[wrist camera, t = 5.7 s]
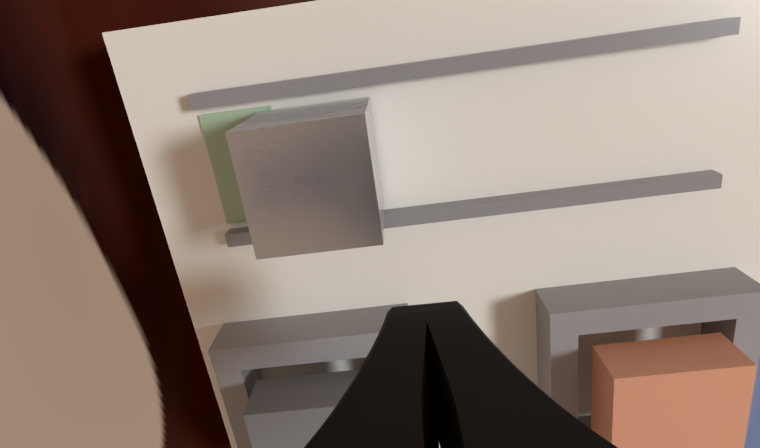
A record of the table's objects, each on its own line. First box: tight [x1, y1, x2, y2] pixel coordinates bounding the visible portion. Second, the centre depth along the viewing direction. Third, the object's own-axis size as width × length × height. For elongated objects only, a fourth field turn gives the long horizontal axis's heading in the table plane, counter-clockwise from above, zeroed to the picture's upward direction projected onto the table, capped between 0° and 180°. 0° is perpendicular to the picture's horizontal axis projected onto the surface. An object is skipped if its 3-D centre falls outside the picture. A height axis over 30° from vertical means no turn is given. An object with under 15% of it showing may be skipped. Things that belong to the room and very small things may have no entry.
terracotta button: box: [591, 332, 757, 448], centre depth 14 cm, size 4×4×2 cm
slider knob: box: [225, 97, 385, 260], centre depth 12 cm, size 3×3×3 cm
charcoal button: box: [243, 369, 360, 448], centre depth 15 cm, size 4×4×2 cm
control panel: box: [102, 0, 760, 448], centre depth 16 cm, size 16×18×4 cm
